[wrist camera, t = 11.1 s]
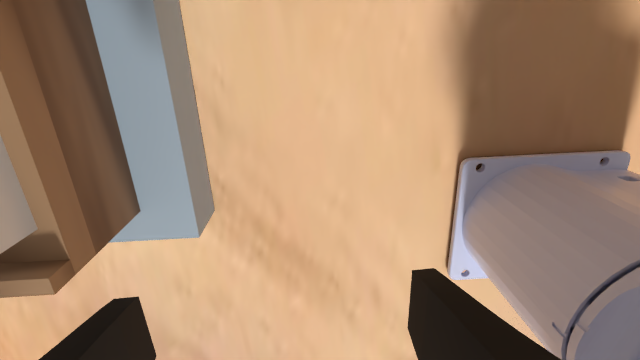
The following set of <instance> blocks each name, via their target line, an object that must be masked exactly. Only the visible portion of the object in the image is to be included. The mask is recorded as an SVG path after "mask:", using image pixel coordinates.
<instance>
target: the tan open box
mask: <svg viewBox="0 0 640 360" xmlns="http://www.w3.org/2000/svg"><path fill="white" fill-rule="evenodd" d="M0 135H1V138H2V140H3V143H4V145H5V148H6V150H7V153H8V155H9V158H10V160H11V163H12V165H13V168H14V170H15V173H16V175H17V178H18V180H19V183H20V186H21V188H22V191H23V193H24V196H25V198H26V201H27V203H28V206H29V208H30V211H31V213H32V216H33V218H34V221H35V223H36V226H37V228H38V229H37V230H36V231H34V232H33V233H31V234H30V235H28V236H27V237H25V238H24V239H22V240H21V241H19V242H18V243H16V244H15V245H13V246H12V247H10V248H9V249H7V250H6V251H4V252H3V253H1V254H0V298H4V297H20V296H37V295H54V294H56V293H57V292H58V291H59V290H60V289H61V288H62V287H63V286H64V285H65V284H66V283H67V282H68V281H69V280H70V279H71V278H72V277H73V276H74V275H75V274H77V273H78V272H79V271H80V270H81V269H82V268H83V267H84V266H85V265H86V264H87V263H88V262H89V261H90V260H91V259H92V258H93V257H94V256H95V255H96V254H97V253H98V252H99V251H100V250H101V249H102V248H103V247H104V246H105V245H106V244H107V243H108V242H109V241H110V240H112V239H113V238H114V237H115V236H116V235H117V234H118V233H119V232H120V231H121V230H122V229H123V228H124V227H125V226H126V225H127V224H128V223H129V222H130V221H131V220H132V219H133V218H134V217H135V216H136V215H137V214H138V213H139V212H140V207H139V203H138V199H137V195H136V191H135V188H134V184H133V180H132V176H131V172H130V168H129V165H128V161H127V157H126V153H125V149H124V145H123V142H122V138H121V134H120V130H119V126H118V122H117V119H116V115H115V111H114V107H113V103H112V99H111V96H110V92H109V88H108V84H107V80H106V77H105V73H104V69H103V65H102V61H101V57H100V54H99V50H98V46H97V42H96V38H95V34H94V31H93V27H92V23H91V19H90V15H89V11H88V8H87V4H86V0H0Z"/></svg>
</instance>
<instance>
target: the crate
mask: <svg viewBox="0 0 640 360" xmlns="http://www.w3.org/2000/svg"><path fill="white" fill-rule="evenodd" d="M37 229H38V228H37V226H36V223H35V221H34V218H33V216H32V213H31V211H30V208H29V206H28V203H27V201H26V198H25V196H24V193H23V191H22V188H21V186H20V183H19V180H18V178H17V175H16V173H15V170H14V168H13V165H12V163H11V160H10V158H9V155H8V153H7V150H6V148H5V145H4V143H3V140H2V138H1V135H0V254H1V253H3V252H4V251H6V250H7V249H9V248H10V247H12V246H13V245H15V244H16V243H18V242H19V241H21V240H22V239H24V238H25V237H27V236H28V235H30V234H31V233H33V232H34V231H36V230H37Z"/></svg>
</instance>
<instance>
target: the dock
mask: <svg viewBox="0 0 640 360" xmlns="http://www.w3.org/2000/svg"><path fill="white" fill-rule="evenodd" d="M86 4H87V8H88V11H89V15H90V19H91V23H92V27H93V31H94V34H95V38H96V42H97V46H98V50H99V54H100V57H101V61H102V65H103V69H104V73H105V77H106V80H107V84H108V88H109V92H110V96H111V99H112V103H113V107H114V111H115V115H116V119H117V122H118V126H119V130H120V134H121V138H122V142H123V145H124V149H125V153H126V157H127V161H128V165H129V168H130V172H131V176H132V180H133V184H134V188H135V191H136V195H137V199H138V203H139V207H140V212H139V213H138V214H137V215H136V216H135V217H134V218H133V219H132V220H131V221H130V222H129V223H128V224H127V225H126V226H125V227H124V228H123V229H122V230H121V231H120V232H119V233H118V234H117V235H116V236H115V237H114V238H113V239H112V240H110V241H109V242H126V241H144V240H162V239H180V238H198V237H200V235H201V233H202V232H203V230H204V228H205V226H206V225H207V223H208V221H209V219H210V218H211V216H212V214H213V212H214V211H215V210H214V204H213V198H212V192H211V186H210V180H209V174H208V169H207V163H206V157H205V151H204V145H203V139H202V133H201V127H200V122H199V116H198V110H197V104H196V98H195V92H194V86H193V81H192V75H191V69H190V63H189V57H188V51H187V45H186V40H185V34H184V28H183V22H182V16H181V10H180V4H179V0H86Z"/></svg>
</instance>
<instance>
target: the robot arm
mask: <svg viewBox="0 0 640 360" xmlns="http://www.w3.org/2000/svg"><path fill="white" fill-rule="evenodd" d="M602 158H603V161H602V162H601V163H600V161H601V159H602ZM629 162H630V154H629V153H628V152H625V151H621V150H614V151H594V152H575V153H555V154H535V155H515V156H495V157H475V158H467V159H465V160H463V161H462V163H461V165H460V170H459V178H458V186H457V195H456V203H455V211H454V220H453V228H452V236H451V245H450V253H449V261H448V270H447V272H448V275H449V276H450V278H451V279H453V280H464V279H481V278H489V279H490V280H491V281H492V283H493V284H494V285H495V286H496V288H497V289H498V290H499V291H500V292H501V294H502V295H503V296H504V297H505V299H506V300H507V301H508V302H509V304H510V305H511V306H512V307H513V308H514V310H515V311H516V312H517V313H518V315H519V316H520V317H521V318H522V319H523V321H524V322H525V323H526V324H527V326H528V327H529V328H530V329H531V331H532V332H533V333H534V334H535V335H536V337H537V338H538V339H539V340H540V342H541V343H542V344H543V345H544V347H545V348H546V349H547V350H546V349H545V348H543V347H542V346H540V345H539V344H537V343H536V342H534V341H533V340H531V339H530V338H528V337H527V336H525V335H524V334H522V333H521V332H519V331H518V330H516V329H515V328H514V327H512V326H511V325H509V324H508V323H507V322H505V321H504V320H502V319H501V318H500V317H498V316H497V315H496V314H494V313H493V312H491V311H490V310H489V309H487V308H486V307H485V306H483V305H482V304H481V303H479V302H478V301H477V300H475V299H474V298H473V297H471V296H470V295H469V294H467V293H466V292H465V291H464V290H462V289H461V288H460V287H458V286H457V285H456V284H454V283H453V282H452V281H451V280H449V279H448V278H447V277H445V276H444V275H443V274H441V273H440V272H439V271H437V270H436V269H434V268H432V269H422V270H412V281H411V294H410V306H409V318H408V330H409V333H410V336H411V339H412V343H413V346H414V349H415V352H416V355H417V357H418V360H640V175H639V174H636V173H633V172H631V171H628V170H627V168H628V165H629ZM480 163H482V166H481V168H480V169H478V170H476V166H477V165H478V164H480ZM464 270H466V271H465V272H464V273H462V271H464ZM155 358H156V353H155V349H154V346H153V343H152V339H151V336H150V333H149V330H148V326H147V323H146V320H145V317H144V313H143V310H142V307H141V303H140V300H139V297H130V298H119V299H113V300H112V301H110V302H109V303H108V304H106V305H105V306H104V307H103V308H101V309H100V310H99V311H98V312H96V313H95V314H94V315H93V316H91V317H90V318H89V319H88V320H86V321H85V322H84V323H83V324H82V325H80V326H79V327H78V328H77V329H76V330H74V331H73V332H72V333H71V334H70V335H68V336H67V337H66V338H65V339H64V340H62V341H61V342H60V343H59V344H57V345H56V346H55V347H54V348H53V349H51V350H50V351H49V352H48V353H46V354H45V355H44V356H43V357H42V358H40V359H39V360H155Z"/></svg>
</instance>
